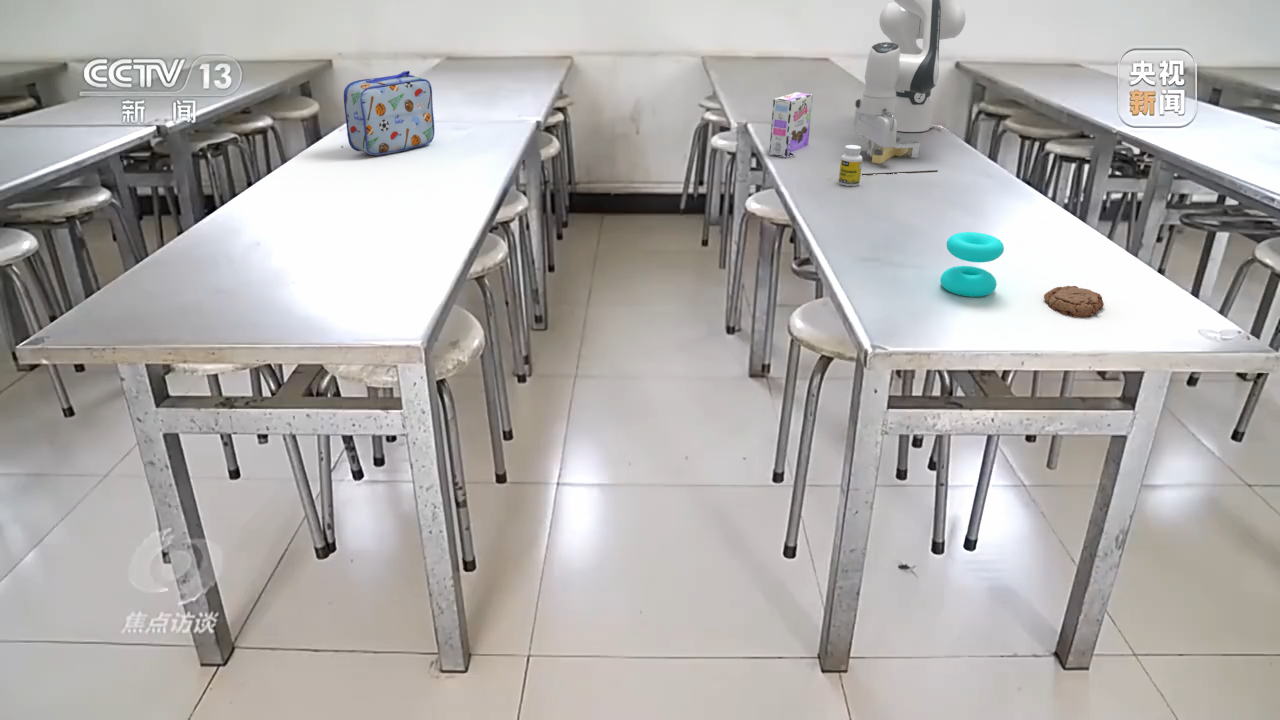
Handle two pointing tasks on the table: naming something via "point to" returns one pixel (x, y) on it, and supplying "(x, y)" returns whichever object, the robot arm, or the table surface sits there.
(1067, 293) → the cookie
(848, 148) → the supplement bottle
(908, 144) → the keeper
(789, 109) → the candy box
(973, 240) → the cyan spool
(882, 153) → the link
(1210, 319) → the table surface
